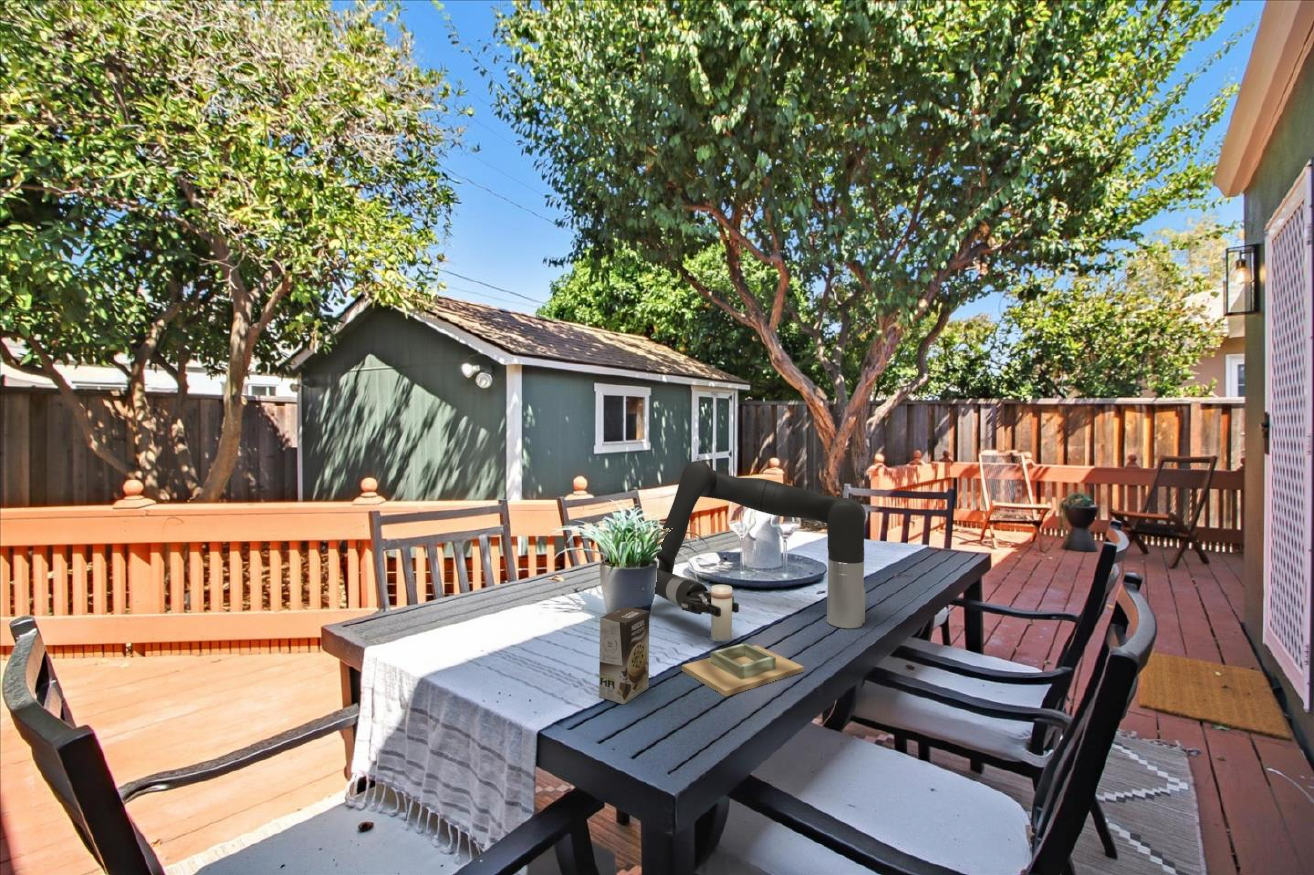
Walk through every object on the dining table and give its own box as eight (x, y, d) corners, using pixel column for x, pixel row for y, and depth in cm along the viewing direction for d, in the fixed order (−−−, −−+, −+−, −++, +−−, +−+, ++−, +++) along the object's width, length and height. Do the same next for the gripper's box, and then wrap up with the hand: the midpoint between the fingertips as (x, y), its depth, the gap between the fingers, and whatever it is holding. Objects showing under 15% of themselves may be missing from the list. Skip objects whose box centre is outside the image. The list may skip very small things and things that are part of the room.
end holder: (756, 650, 152) (756, 634, 151) (803, 672, 139) (804, 655, 139) (681, 670, 139) (681, 653, 139) (725, 696, 127) (726, 678, 127)
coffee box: (624, 705, 123) (625, 623, 122) (598, 697, 126) (598, 617, 125) (650, 688, 131) (650, 610, 130) (624, 680, 134) (624, 605, 133)
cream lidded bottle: (722, 631, 158) (723, 583, 158) (736, 637, 154) (737, 588, 153) (706, 635, 155) (706, 586, 155) (720, 641, 151) (720, 591, 151)
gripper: (663, 583, 162) (705, 600, 148) (708, 575, 170) (751, 590, 156) (663, 612, 163) (705, 631, 148) (708, 602, 170) (751, 620, 156)
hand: (728, 610), depth 152 cm, fingers closed on cream lidded bottle, 5 cm apart
